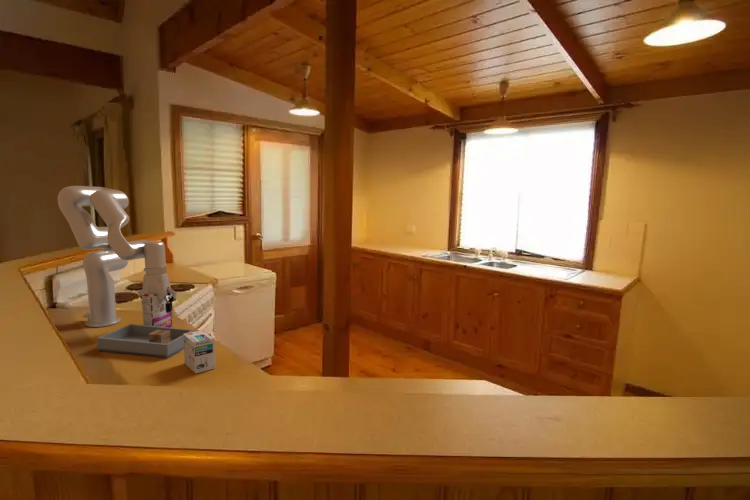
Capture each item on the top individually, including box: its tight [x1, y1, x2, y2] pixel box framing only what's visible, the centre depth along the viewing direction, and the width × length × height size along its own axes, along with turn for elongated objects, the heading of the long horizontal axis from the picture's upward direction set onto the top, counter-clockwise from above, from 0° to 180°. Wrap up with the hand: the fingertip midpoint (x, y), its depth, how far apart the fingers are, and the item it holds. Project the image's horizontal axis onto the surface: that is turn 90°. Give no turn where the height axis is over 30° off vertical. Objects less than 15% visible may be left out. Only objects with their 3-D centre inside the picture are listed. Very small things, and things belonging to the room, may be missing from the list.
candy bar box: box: [141, 294, 173, 328], centre depth 163 cm, size 11×5×16 cm, turn 168°
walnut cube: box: [149, 330, 171, 344], centre depth 145 cm, size 5×5×5 cm
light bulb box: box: [183, 329, 216, 374], centre depth 131 cm, size 11×7×11 cm, turn 44°
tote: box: [96, 323, 196, 360], centre depth 146 cm, size 28×16×5 cm, turn 81°
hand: (158, 311), depth 163 cm, fingers open, 9 cm apart
